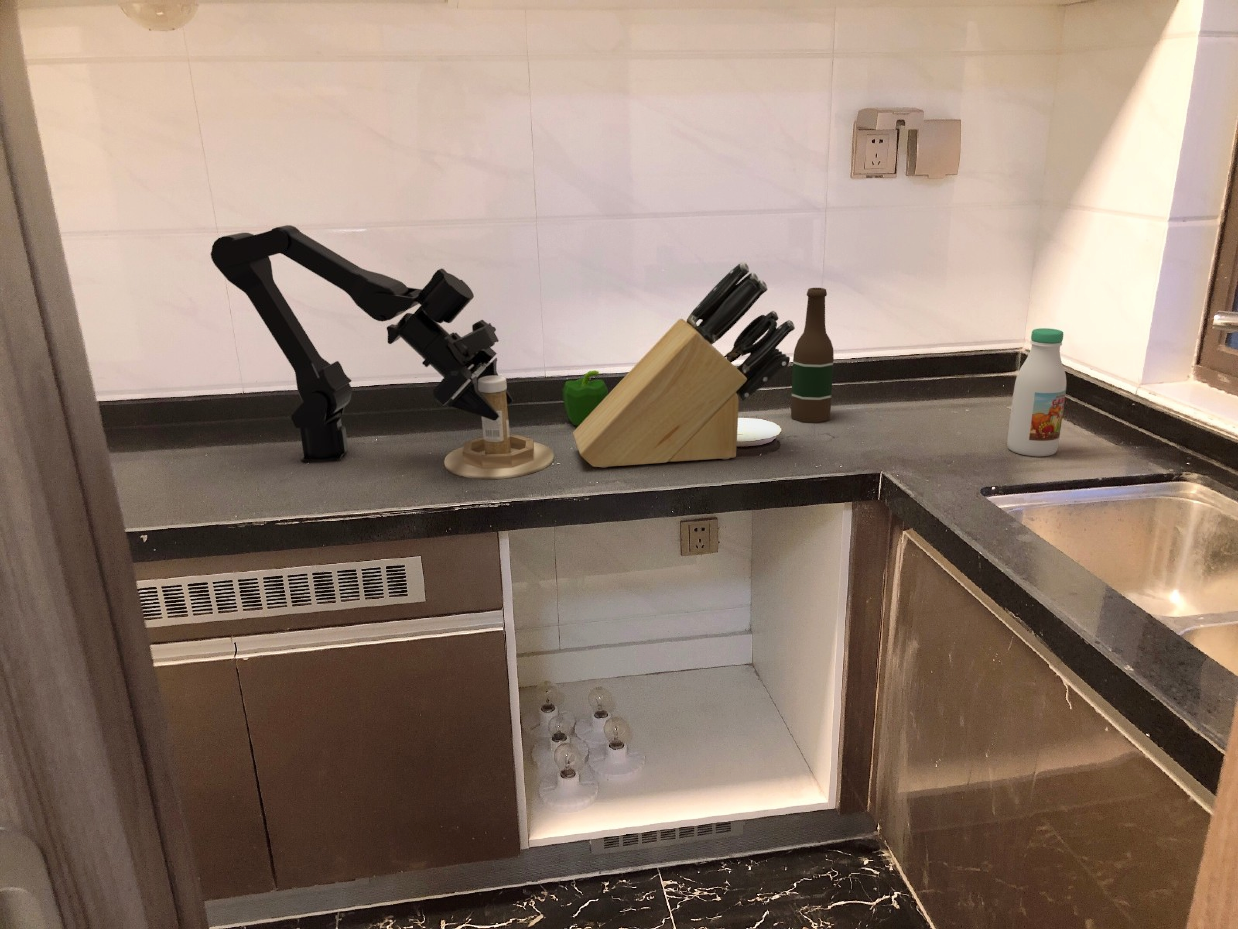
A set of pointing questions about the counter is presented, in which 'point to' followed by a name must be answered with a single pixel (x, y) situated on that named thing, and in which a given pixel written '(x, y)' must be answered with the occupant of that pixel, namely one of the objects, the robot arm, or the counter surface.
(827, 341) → the beer bottle
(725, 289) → the knife block
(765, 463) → the counter surface
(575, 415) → the bell pepper
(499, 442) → the sprinkles bottle
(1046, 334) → the milk bottle
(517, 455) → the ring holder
